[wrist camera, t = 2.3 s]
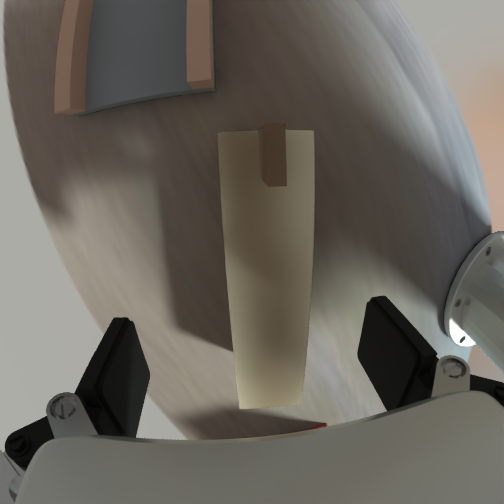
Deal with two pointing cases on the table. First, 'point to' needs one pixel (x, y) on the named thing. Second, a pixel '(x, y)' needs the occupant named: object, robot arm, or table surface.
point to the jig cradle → (132, 52)
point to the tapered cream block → (268, 258)
